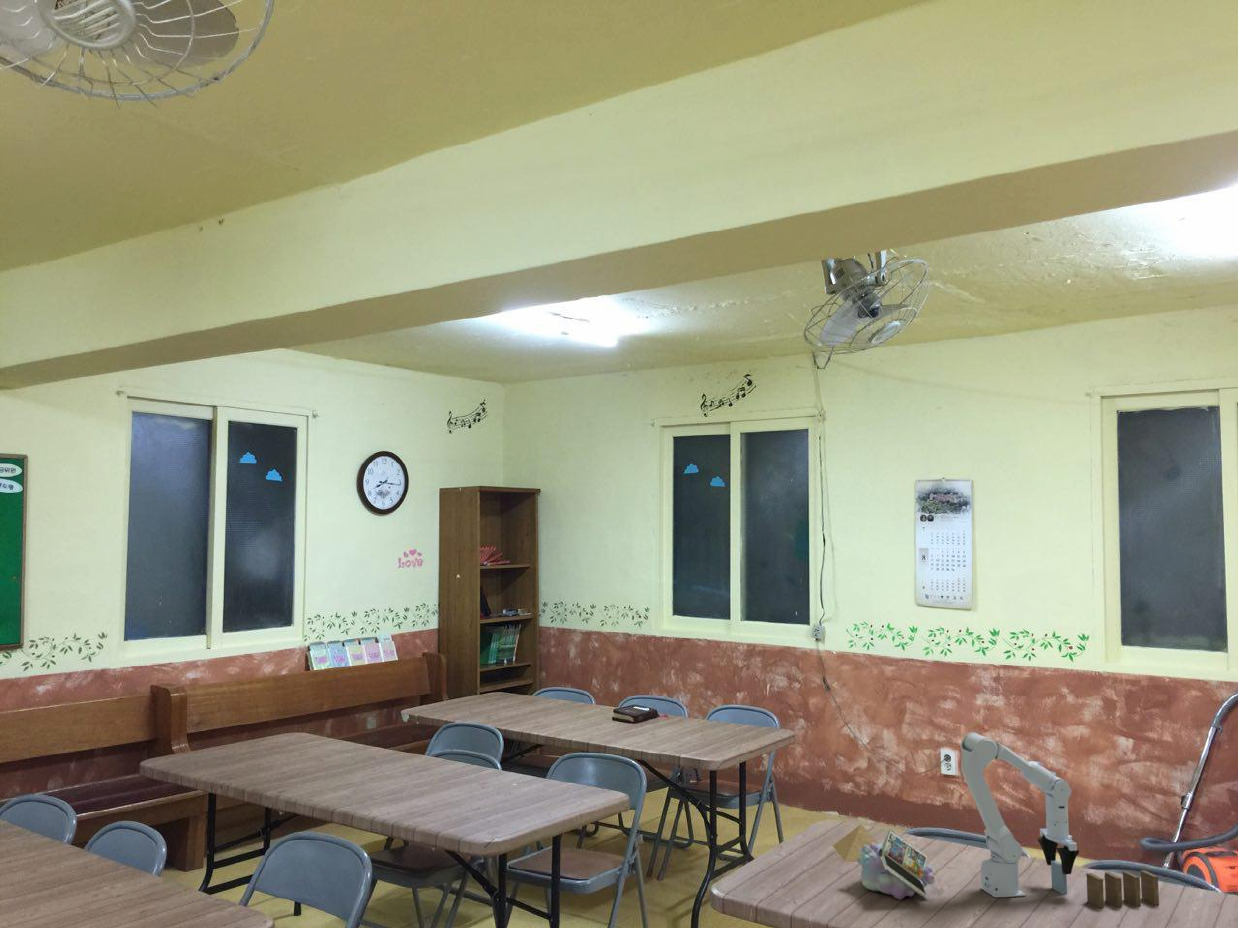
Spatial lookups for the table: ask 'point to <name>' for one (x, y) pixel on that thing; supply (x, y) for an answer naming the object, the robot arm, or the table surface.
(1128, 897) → the domino
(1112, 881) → the domino
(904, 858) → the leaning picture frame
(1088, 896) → the domino
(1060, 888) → the domino
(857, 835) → the model pyramid
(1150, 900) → the domino
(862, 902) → the table surface
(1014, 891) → the robot arm
